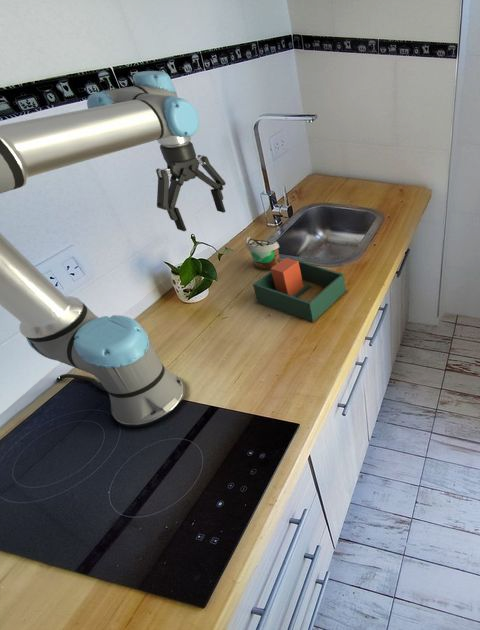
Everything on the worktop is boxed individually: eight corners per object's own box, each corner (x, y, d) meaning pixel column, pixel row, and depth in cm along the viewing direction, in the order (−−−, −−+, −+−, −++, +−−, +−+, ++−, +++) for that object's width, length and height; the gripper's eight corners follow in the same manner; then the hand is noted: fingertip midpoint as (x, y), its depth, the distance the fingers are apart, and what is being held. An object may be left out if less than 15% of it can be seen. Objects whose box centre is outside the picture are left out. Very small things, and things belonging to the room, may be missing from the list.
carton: (277, 296, 130) (270, 268, 123) (292, 285, 136) (286, 257, 129) (289, 300, 129) (283, 272, 122) (304, 288, 134) (298, 261, 127)
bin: (257, 302, 128) (252, 284, 123) (293, 274, 140) (290, 257, 136) (313, 322, 121) (309, 304, 116) (345, 291, 134) (343, 274, 129)
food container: (244, 268, 143) (237, 243, 136) (254, 259, 147) (248, 235, 141) (274, 274, 140) (268, 250, 134) (283, 265, 145) (278, 241, 138)
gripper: (205, 129, 110) (227, 201, 123) (117, 153, 92) (154, 235, 106) (225, 133, 107) (245, 206, 121) (138, 159, 90) (173, 241, 103)
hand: (202, 220), depth 113 cm, fingers open, 13 cm apart
